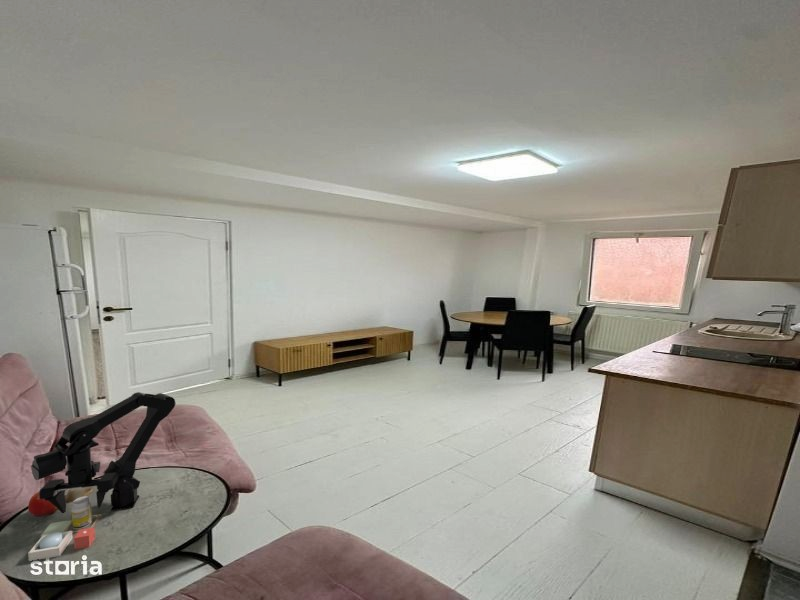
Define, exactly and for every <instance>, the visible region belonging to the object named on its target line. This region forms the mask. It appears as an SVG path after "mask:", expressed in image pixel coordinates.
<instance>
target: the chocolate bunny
mask: <svg viewBox="0 0 800 600" xmlns="http://www.w3.org/2000/svg"><path fill="white" fill-rule="evenodd" d="M94 479H95V477H92V480H94ZM93 487H94V486H91V487H83V488H76V489H69V490H67V491H68V492H67V493H66V495H65V502H66V503H71V502H73V501H74V500H76V499H77V498H80V497H84V496H87V497H88V496H89V495H91V494H92V493H93Z"/></svg>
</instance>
